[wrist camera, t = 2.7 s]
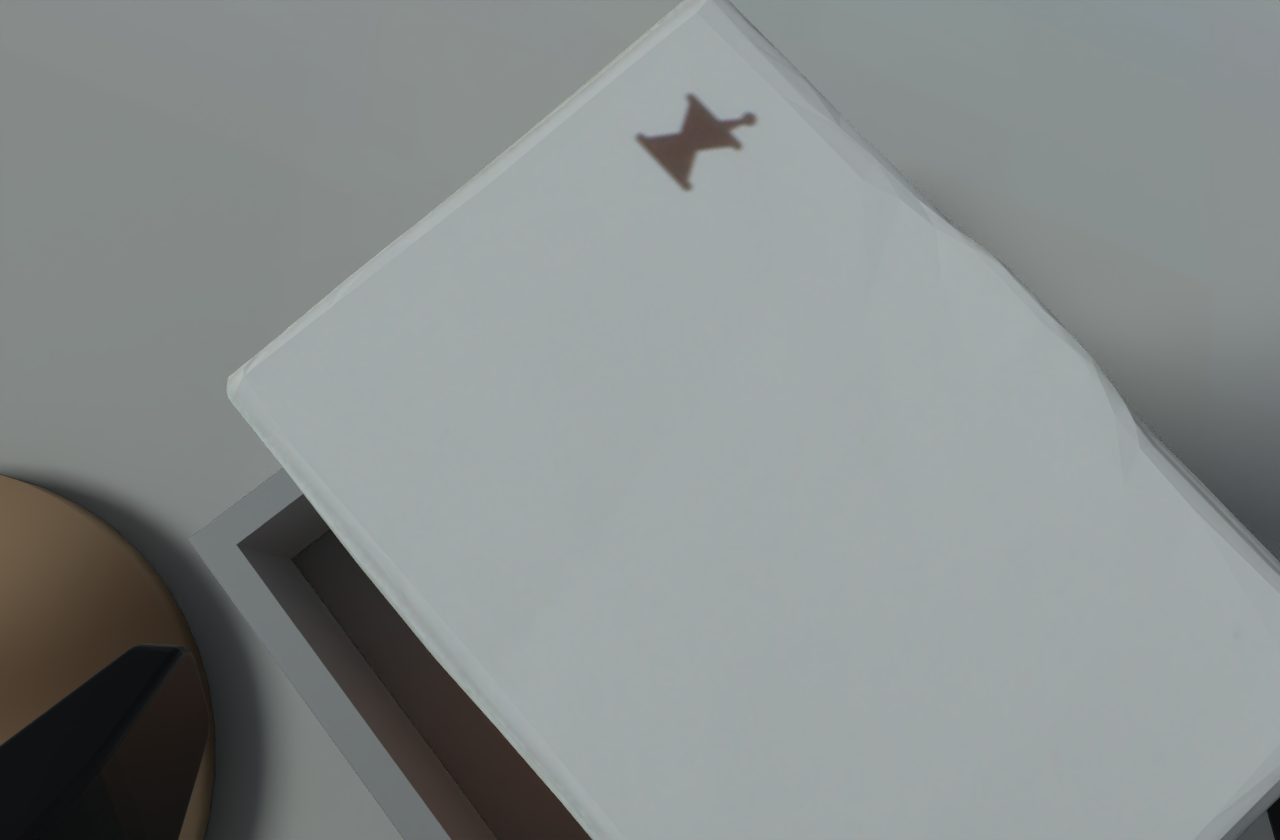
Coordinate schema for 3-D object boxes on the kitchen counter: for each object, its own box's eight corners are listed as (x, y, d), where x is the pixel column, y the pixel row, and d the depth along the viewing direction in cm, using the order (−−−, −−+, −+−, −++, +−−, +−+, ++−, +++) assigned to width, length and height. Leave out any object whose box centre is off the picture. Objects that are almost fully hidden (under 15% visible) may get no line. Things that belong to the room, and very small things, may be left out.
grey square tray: (1146, 651, 18) (1226, 650, 15) (646, 1099, 16) (647, 1177, 14) (733, 184, 20) (746, 117, 17) (248, 554, 18) (187, 539, 16)
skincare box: (476, 548, 18) (178, 361, 6) (668, 385, 19) (714, -60, 7) (720, 839, 17) (887, 1235, 6) (914, 657, 18) (1439, 666, 6)
